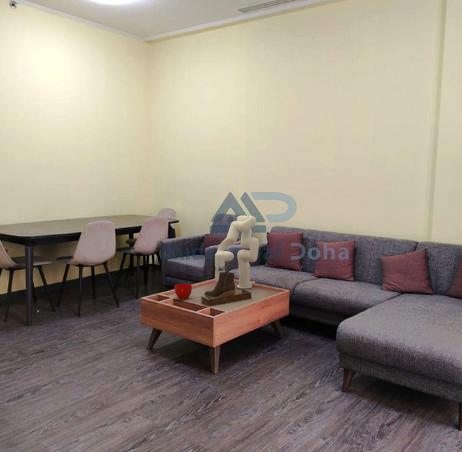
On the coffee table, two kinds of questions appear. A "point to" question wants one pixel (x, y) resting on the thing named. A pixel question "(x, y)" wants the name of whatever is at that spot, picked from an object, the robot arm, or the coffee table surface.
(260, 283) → the coffee table surface
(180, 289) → the ceramic cup
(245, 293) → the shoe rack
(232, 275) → the boot
